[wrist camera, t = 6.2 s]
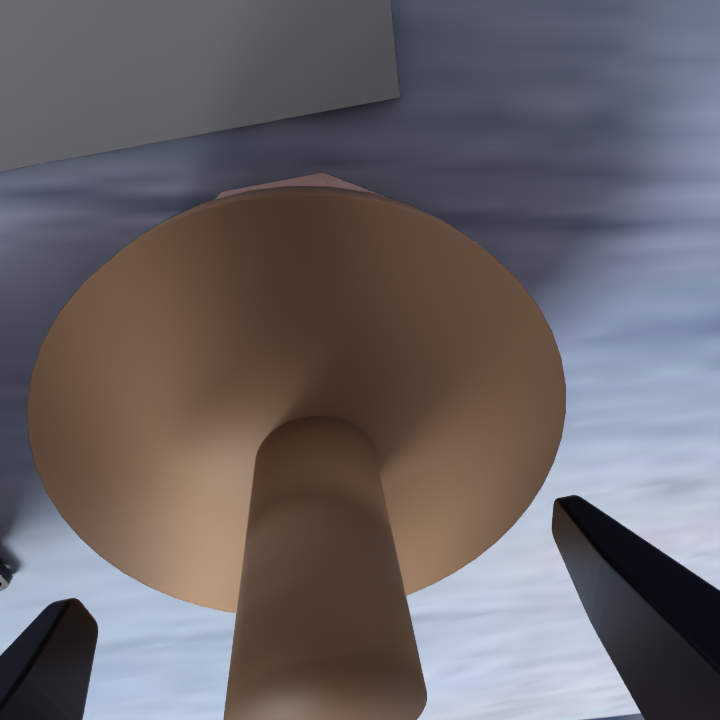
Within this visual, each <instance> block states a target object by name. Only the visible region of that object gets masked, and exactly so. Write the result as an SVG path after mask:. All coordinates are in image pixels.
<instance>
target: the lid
mask: <svg viewBox="0 0 720 720" xmlns="http://www.w3.org/2000/svg"><path fill="white" fill-rule="evenodd" d="M565 414H566V384H565V378H564V372H563V366H562V359H561V356H560V353H559V350H558V347H557V344H556V341H555V339H554V336H553V333H552V330H551V328H550V327H549V325H548V323H547V321H546V319H545V317H544V316H543V314H542V312H541V310H540V308H539V306H538V305H537V303H536V302H535V301H534V299H533V298H532V297H531V295H530V294H529V293H528V292H527V290H526V289H525V288H524V287H523V285H522V284H521V283H520V282H519V280H518V279H517V278H516V277H515V276H514V275H513V274H512V273H511V272H510V271H509V270H507V269H506V268H505V267H504V266H503V265H502V264H501V263H500V262H499V261H498V260H497V259H495V258H494V257H493V256H492V255H491V254H490V253H489V252H487V251H486V250H485V249H484V248H482V247H481V246H480V245H479V244H477V243H476V242H475V241H474V240H472V239H471V238H469V237H468V236H466V235H465V234H463V233H462V232H460V231H459V230H457V229H456V228H454V227H453V226H451V225H450V224H448V223H447V222H445V221H444V220H442V219H440V218H438V217H435V216H433V215H431V214H429V213H427V212H425V211H423V210H420V209H418V208H416V207H414V206H412V205H410V204H407V203H404V202H400V201H397V200H394V199H390V198H387V197H384V196H380V195H377V194H374V193H370V192H363V191H357V190H350V189H344V188H337V187H331V186H283V187H275V188H267V189H259V190H250V191H244V192H241V193H237V194H233V195H230V196H226V197H222V198H218V199H215V200H211V201H207V202H204V203H202V204H200V205H197V206H195V207H193V208H190V209H188V210H186V211H183V212H181V213H179V214H177V215H174V216H172V217H170V218H167V219H166V220H164V221H163V222H161V223H159V224H158V225H156V226H155V227H153V228H151V229H150V230H148V231H147V232H145V233H143V234H142V235H140V236H139V237H137V238H135V239H134V240H133V241H131V242H130V243H129V244H128V245H127V246H125V247H124V248H123V249H122V250H121V251H119V252H118V253H117V254H116V255H115V256H114V257H112V258H111V259H110V260H109V261H108V262H107V263H105V264H104V265H103V266H102V267H101V268H100V269H99V270H97V271H96V272H95V273H94V274H93V275H92V276H90V277H89V278H88V279H87V280H86V281H85V282H84V283H83V284H82V285H81V287H80V288H79V289H78V290H77V291H76V293H75V294H74V295H73V296H72V297H71V299H70V300H69V301H68V302H67V304H66V305H65V306H64V307H63V308H62V310H61V311H60V312H59V314H58V316H57V318H56V319H55V321H54V323H53V325H52V327H51V328H50V330H49V332H48V334H47V335H46V337H45V339H44V341H43V343H42V345H41V348H40V351H39V354H38V357H37V360H36V363H35V366H34V369H33V372H32V375H31V382H30V389H29V396H28V403H27V416H28V436H29V441H30V445H31V450H32V454H33V458H34V462H35V466H36V469H37V471H38V473H39V476H40V478H41V480H42V483H43V485H44V487H45V490H46V492H47V494H48V495H49V497H50V499H51V500H52V502H53V503H54V505H55V507H56V508H57V510H58V511H59V513H60V514H61V516H62V517H63V519H64V520H65V521H66V522H67V523H68V524H69V526H70V527H71V528H72V529H73V530H74V531H75V533H76V534H77V535H78V536H79V537H80V538H81V539H82V540H83V541H84V542H85V543H86V544H87V545H88V546H89V547H91V548H92V549H93V550H94V551H95V552H96V553H97V554H98V555H99V556H101V557H102V558H103V559H105V560H106V561H108V562H109V563H110V564H112V565H113V566H115V567H116V568H117V569H119V570H120V571H122V572H123V573H125V574H127V575H128V576H130V577H132V578H134V579H136V580H137V581H139V582H141V583H143V584H145V585H146V586H148V587H151V588H153V589H155V590H158V591H160V592H162V593H165V594H167V595H169V596H172V597H174V598H177V599H180V600H183V601H187V602H190V603H193V604H196V605H199V606H203V607H208V608H212V609H216V610H221V611H225V612H232V613H236V621H235V630H234V638H233V646H232V654H231V662H230V670H229V678H228V687H227V695H226V703H225V711H224V720H417V719H418V718H419V716H420V715H421V713H422V712H423V710H424V708H425V705H426V701H427V691H426V687H425V682H424V677H423V673H422V668H421V663H420V659H419V654H418V650H417V645H416V640H415V636H414V631H413V626H412V622H411V617H410V612H409V608H408V603H407V599H406V596H407V595H409V594H412V593H414V592H416V591H419V590H421V589H423V588H426V587H428V586H430V585H432V584H434V583H436V582H438V581H440V580H442V579H444V578H445V577H447V576H449V575H451V574H453V573H455V572H456V571H458V570H459V569H461V568H462V567H464V566H465V565H467V564H468V563H470V562H471V561H473V560H475V559H476V558H477V557H478V556H480V555H481V554H482V553H483V552H485V551H486V550H487V549H489V548H490V547H491V546H492V545H494V544H495V543H496V542H497V541H498V540H499V539H500V538H501V537H502V536H503V535H504V534H505V533H506V532H507V531H508V530H509V529H510V528H511V527H512V526H513V525H514V524H515V523H516V522H517V520H518V519H519V518H520V517H521V516H522V514H523V513H524V512H525V511H526V510H527V508H528V507H529V506H530V504H531V503H532V501H533V500H534V498H535V496H536V495H537V493H538V492H539V490H540V489H541V487H542V486H543V484H544V482H545V480H546V477H547V475H548V473H549V471H550V469H551V467H552V465H553V463H554V460H555V457H556V454H557V451H558V447H559V444H560V441H561V438H562V432H563V426H564V420H565Z"/></svg>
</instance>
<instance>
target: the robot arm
mask: <svg viewBox="0 0 720 720" xmlns="http://www.w3.org/2000/svg"><path fill="white" fill-rule="evenodd" d="M552 533H553V537H554V540H555V542H556V544H557V547H558V549H559V551H560V554H561V556H562V558H563V561H564V563H565V565H566V567H567V570H568V572H569V574H570V577H571V579H572V581H573V583H574V586H575V588H576V590H577V593H578V595H579V597H580V600H581V602H582V604H583V606H584V609H585V611H586V613H587V615H588V617H589V620H590V622H591V624H592V625H593V627H594V629H595V631H596V633H597V635H598V637H599V638H600V640H601V642H602V644H603V646H604V647H605V649H606V651H607V653H608V655H609V656H610V658H611V660H612V662H613V664H614V665H615V667H616V669H617V671H618V673H619V674H620V676H621V678H622V680H623V681H624V683H625V685H626V687H627V689H628V690H629V692H630V694H631V696H632V698H633V699H634V701H635V703H636V705H637V707H638V708H639V710H640V712H641V714H642V715H643V717H644V719H645V720H720V590H718V589H717V588H715V587H714V586H712V585H711V584H709V583H708V582H706V581H705V580H703V579H702V578H700V577H699V576H697V575H696V574H694V573H693V572H691V571H690V570H688V569H687V568H685V567H684V566H683V565H681V564H680V563H678V562H677V561H675V560H674V559H672V558H671V557H669V556H668V555H666V554H665V553H663V552H662V551H660V550H659V549H657V548H656V547H654V546H653V545H651V544H650V543H648V542H647V541H645V540H644V539H642V538H641V537H639V536H638V535H636V534H635V533H633V532H632V531H631V530H629V529H628V528H626V527H625V526H623V525H622V524H620V523H619V522H617V521H616V520H614V519H613V518H611V517H610V516H608V515H607V514H605V513H604V512H602V511H601V510H599V509H598V508H596V507H595V506H593V505H592V504H590V503H589V502H587V501H586V500H584V499H583V498H581V497H579V496H577V495H571V496H566V497H561V498H557V499H556V500H555V501H554V506H553V517H552ZM12 578H13V576H12V574H11V573H10V571H9V570H8V569H7V568H6V567H5V566H4V565H3V564H2V562H1V561H0V591H1V590H4V589H6V588H7V587H8V585H9V584H10V582H11V580H12ZM97 638H98V625H97V622H96V620H95V619H94V618H93V616H92V615H91V614H90V613H89V611H88V610H87V609H86V608H85V607H84V605H83V604H82V603H81V602H80V601H79V600H78V599H76V598H70V599H65V600H60V601H56V602H53V603H51V604H50V605H49V606H47V607H46V608H45V609H44V610H43V611H42V612H41V613H40V614H39V616H38V617H37V618H36V619H35V620H34V621H33V622H32V623H31V624H30V625H29V626H28V627H27V628H26V629H25V630H24V631H23V632H22V633H21V635H20V636H19V637H18V638H17V639H16V640H15V641H14V642H13V643H12V644H11V645H10V646H9V647H8V648H7V649H6V650H5V651H4V652H3V654H2V655H1V656H0V720H82V719H83V714H84V709H85V704H86V698H87V693H88V687H89V682H90V676H91V671H92V665H93V660H94V654H95V649H96V643H97Z"/></svg>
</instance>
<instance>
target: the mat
mask: <svg viewBox="0 0 720 720" xmlns="http://www.w3.org/2000/svg"><path fill="white" fill-rule="evenodd" d="M399 97H400V92H399V82H398V72H397V62H396V52H395V42H394V31H393V21H392V11H391V1H390V0H0V172H1V171H6V170H12V169H17V168H22V167H28V166H33V165H38V164H44V163H49V162H55V161H60V160H65V159H71V158H76V157H82V156H87V155H92V154H98V153H103V152H108V151H114V150H119V149H125V148H130V147H135V146H141V145H146V144H152V143H157V142H162V141H168V140H173V139H179V138H184V137H189V136H195V135H200V134H205V133H211V132H216V131H222V130H227V129H232V128H238V127H243V126H249V125H254V124H259V123H265V122H270V121H276V120H281V119H286V118H292V117H297V116H302V115H308V114H313V113H319V112H324V111H329V110H335V109H340V108H346V107H351V106H356V105H362V104H367V103H373V102H378V101H383V100H389V99H394V98H399Z"/></svg>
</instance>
